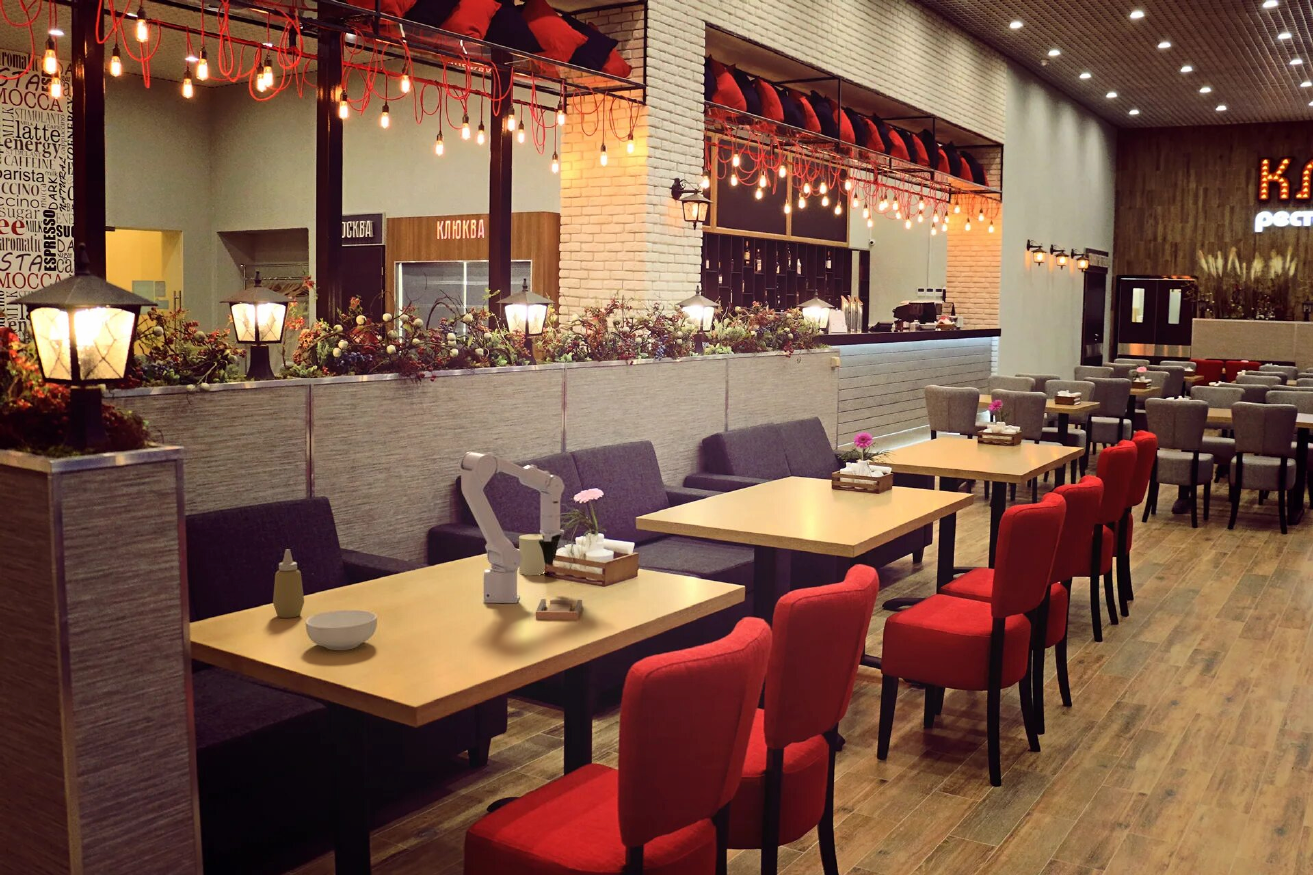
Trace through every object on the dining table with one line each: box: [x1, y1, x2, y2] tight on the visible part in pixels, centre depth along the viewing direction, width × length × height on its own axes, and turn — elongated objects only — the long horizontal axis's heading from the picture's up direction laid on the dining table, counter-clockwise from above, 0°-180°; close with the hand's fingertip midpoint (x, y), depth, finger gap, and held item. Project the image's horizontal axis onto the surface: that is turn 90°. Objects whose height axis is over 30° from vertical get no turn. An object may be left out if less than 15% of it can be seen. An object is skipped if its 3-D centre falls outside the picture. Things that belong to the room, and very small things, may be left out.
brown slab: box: [546, 598, 573, 611], centre depth 319 cm, size 6×10×2 cm, turn 179°
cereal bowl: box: [305, 609, 378, 651], centre depth 285 cm, size 17×17×7 cm
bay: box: [535, 598, 583, 621], centre depth 319 cm, size 11×14×2 cm
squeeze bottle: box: [272, 548, 305, 619], centre depth 311 cm, size 8×8×18 cm
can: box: [518, 533, 545, 576], centre depth 368 cm, size 9×9×12 cm
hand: (550, 561), depth 341 cm, fingers open, 7 cm apart
